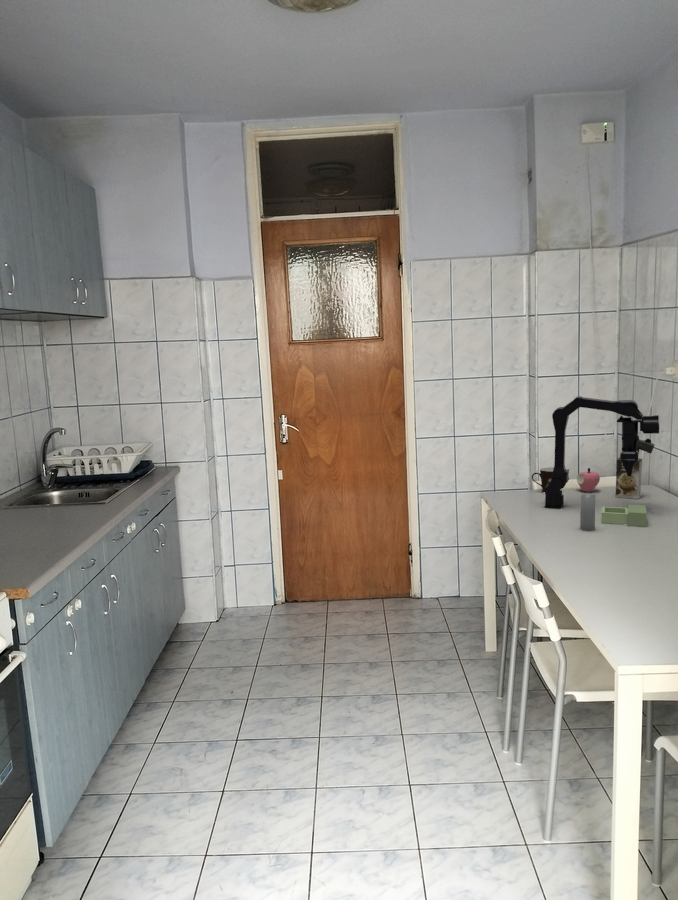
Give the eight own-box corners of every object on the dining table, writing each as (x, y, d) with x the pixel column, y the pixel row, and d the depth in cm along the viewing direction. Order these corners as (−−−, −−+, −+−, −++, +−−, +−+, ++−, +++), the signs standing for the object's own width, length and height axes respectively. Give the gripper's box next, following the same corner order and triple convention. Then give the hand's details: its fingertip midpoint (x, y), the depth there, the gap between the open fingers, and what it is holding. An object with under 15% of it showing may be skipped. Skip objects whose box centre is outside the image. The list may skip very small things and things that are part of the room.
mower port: (601, 524, 266) (601, 511, 265) (602, 515, 277) (602, 503, 276) (646, 526, 261) (646, 513, 260) (644, 518, 272) (645, 505, 271)
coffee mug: (561, 490, 320) (562, 467, 318) (558, 494, 312) (559, 471, 311) (534, 488, 325) (534, 466, 323) (531, 493, 317) (531, 470, 316)
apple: (573, 490, 320) (573, 467, 318) (590, 488, 322) (591, 465, 320) (585, 494, 311) (585, 471, 309) (603, 492, 313) (604, 469, 311)
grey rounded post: (579, 530, 260) (580, 496, 258) (580, 526, 265) (581, 492, 263) (594, 531, 258) (595, 496, 256) (595, 527, 263) (595, 493, 261)
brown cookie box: (614, 497, 304) (615, 459, 301) (618, 494, 309) (619, 456, 307) (638, 499, 299) (639, 460, 297) (641, 496, 305) (642, 458, 302)
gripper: (652, 437, 266) (652, 479, 269) (653, 429, 283) (653, 469, 286) (620, 437, 271) (620, 478, 273) (622, 430, 288) (622, 469, 290)
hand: (630, 473), depth 280 cm, fingers open, 9 cm apart
